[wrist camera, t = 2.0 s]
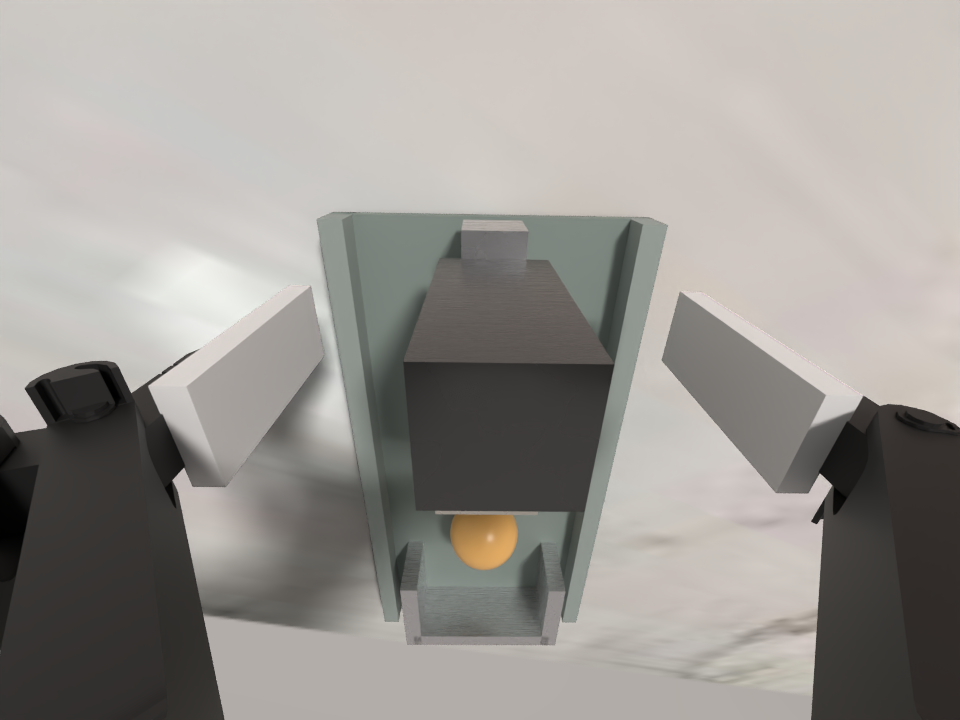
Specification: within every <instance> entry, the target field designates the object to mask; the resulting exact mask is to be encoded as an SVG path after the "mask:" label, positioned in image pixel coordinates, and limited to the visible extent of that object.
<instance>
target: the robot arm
mask: <svg viewBox="0 0 960 720" xmlns="http://www.w3.org/2000/svg"><path fill="white" fill-rule="evenodd" d="M323 357H324V351H323V346H322V341H321V336H320V330H319V325H318V320H317V315H316V309H315V304H314V299H313V294H312V288H311V286H307V285H288V286H287V287H286V288H284V289H283V290H281V291H280V292H279V293H277V294H276V295H275V296H273V297H272V298H270V299H269V300H268V301H266V302H265V303H263V304H262V305H261V306H259V307H258V308H256V309H255V310H254V311H252V312H251V313H249V314H248V315H247V316H245V317H244V318H242V319H241V320H240V321H238V322H237V323H235V324H234V325H233V326H231V327H230V328H228V329H227V330H226V331H224V332H223V333H221V334H220V335H219V336H217V337H216V338H214V339H213V340H212V341H210V342H209V343H207V344H206V345H205V346H203V347H202V348H200V349H198V350H196V351H194V352H191V353H189V354H187V355H185V356H184V357H183V358H181V359H180V360H178V361H177V362H175V363H174V364H173V366H170V367H168V368H167V369H166V370H164V371H163V372H162V374H158V375H157V376H156V377H154V378H153V379H151V380H150V381H148V382H147V383H146V384H144V385H143V386H141V387H140V388H138V389H137V390H136V391H134V392H133V393H131V392H130V390H129V388H128V386H127V384H126V382H125V380H124V377H123V375H122V373H121V371H120V369H119V367H118V366H117V365H116V363H114V362H109V361H91V362H85V363H79V364H74V365H70V366H67V367H63V368H59V369H56V370H54V371H51V372H49V373H46V374H44V375H41V376H40V377H38V378H36V379H35V380H33V381H31V382H30V383H29V384H28V385H27V386H26V388H25V390H26V392H27V393H28V395H29V396H30V398H31V400H32V401H33V403H34V404H35V406H36V408H37V409H38V411H39V412H40V414H41V416H42V417H43V419H44V420H45V422H46V424H47V428H44V429H38V430H31V431H25V432H19V433H14V432H13V430H12V429H11V427H10V426H9V424H8V423H7V421H6V420H5V419H4V418H3V417H2V416H1V415H0V720H224V715H223V710H222V705H221V700H220V695H219V691H218V686H217V681H216V676H215V671H214V667H213V661H212V656H211V652H210V647H209V642H208V637H207V632H206V627H205V622H204V617H203V612H202V607H201V603H200V598H199V593H198V588H197V583H196V578H195V573H194V568H193V563H192V559H191V554H190V549H189V544H188V539H187V534H186V529H185V524H184V519H183V515H182V510H181V505H180V500H179V495H178V491H177V489H176V487H175V485H174V483H173V481H172V480H173V479H174V478H175V477H176V476H177V474H178V473H179V472H180V471H181V470H182V469H183V468H185V470H186V473H187V475H188V477H189V479H190V481H191V484H192V486H193V487H226V486H227V485H228V484H229V482H230V481H231V479H232V478H233V477H234V475H235V474H236V473H237V471H238V470H239V469H240V467H241V466H242V465H243V463H244V462H245V461H246V459H247V458H248V457H249V455H250V454H251V453H252V451H253V450H254V449H255V447H256V446H257V445H258V443H259V442H260V441H261V439H262V438H263V437H264V435H265V434H266V433H267V431H268V430H269V429H270V427H271V426H272V425H273V423H274V422H275V421H276V419H277V418H278V417H279V415H280V414H281V413H282V411H283V410H284V409H285V407H286V406H287V405H288V403H289V402H290V401H291V399H292V398H293V397H294V395H295V394H296V393H297V391H298V390H299V389H300V387H301V386H302V385H303V383H304V382H305V381H306V379H307V378H308V377H309V375H310V374H311V373H312V371H313V370H314V369H315V367H316V366H317V365H318V363H319V362H320V361H321V359H322V358H323ZM662 361H663V363H664V364H665V365H666V366H667V367H668V368H669V369H670V371H671V372H672V373H673V374H674V375H675V376H676V378H677V379H678V380H679V381H680V382H681V383H682V385H683V386H684V387H685V388H686V389H687V390H688V392H689V393H690V394H691V395H692V396H693V397H694V398H695V400H696V401H697V402H698V403H699V404H700V405H701V407H702V408H703V409H704V410H705V411H706V412H707V414H708V415H709V416H710V417H711V418H712V419H713V421H714V422H715V423H716V424H717V425H718V426H719V427H720V429H721V430H722V431H723V432H724V433H725V434H726V436H727V437H728V438H729V439H730V440H731V441H732V443H733V444H734V445H735V446H736V447H737V448H738V449H739V451H740V452H741V453H742V454H743V455H744V456H745V458H746V459H747V460H748V461H749V462H750V463H751V465H752V466H753V467H754V468H755V469H756V470H757V472H758V473H759V474H760V475H761V476H762V477H763V478H764V480H765V481H766V482H767V483H768V484H769V485H770V487H771V488H772V489H773V490H774V491H775V492H776V493H809V491H810V489H811V488H812V486H813V484H814V482H815V481H816V479H817V477H818V475H819V474H821V475H822V476H824V477H825V478H826V479H827V480H828V481H829V482H830V483H831V484H832V485H833V486H832V487H831V489H830V491H829V492H828V494H827V496H826V497H825V499H824V501H823V502H822V504H821V506H820V507H819V509H818V511H817V512H816V514H815V516H814V517H813V519H812V521H811V522H813V523H815V524H817V523H818V522H819V520H820V519H824V521H823V537H822V553H821V570H820V586H819V602H818V619H817V635H816V651H815V668H814V684H813V700H812V716H811V720H960V428H959V427H958V426H957V425H956V424H954V423H951V422H950V421H948V420H946V419H943V418H941V417H939V416H937V415H935V414H933V413H930V412H928V411H925V410H921V409H917V408H912V407H908V406H903V405H893V404H887V405H882V406H879V405H877V404H876V403H874V402H873V401H871V400H870V399H868V398H866V397H865V396H863V395H862V394H860V393H859V392H857V391H856V390H854V389H852V388H851V387H849V386H848V385H846V384H845V383H843V382H842V381H840V380H838V379H837V378H835V377H834V376H832V375H831V374H829V373H828V372H826V371H824V370H823V369H821V368H820V367H818V366H817V365H815V364H813V363H812V362H810V361H809V360H807V359H806V358H804V357H803V356H801V355H799V354H798V353H796V352H795V351H793V350H792V349H790V348H789V347H787V346H785V345H784V344H782V343H781V342H779V341H778V340H776V339H775V338H773V337H771V336H770V335H768V334H767V333H765V332H764V331H762V330H761V329H759V328H757V327H756V326H754V325H753V324H751V323H750V322H748V321H747V320H745V319H743V318H742V317H740V316H739V315H737V314H736V313H734V312H732V311H731V310H729V309H728V308H726V307H725V306H723V305H722V304H720V303H718V302H717V301H715V300H714V299H712V298H711V297H709V296H708V295H706V294H704V293H703V292H689V291H680V293H679V297H678V301H677V305H676V308H675V312H674V316H673V320H672V323H671V327H670V331H669V335H668V339H667V342H666V346H665V350H664V354H663V357H662Z"/></svg>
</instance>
